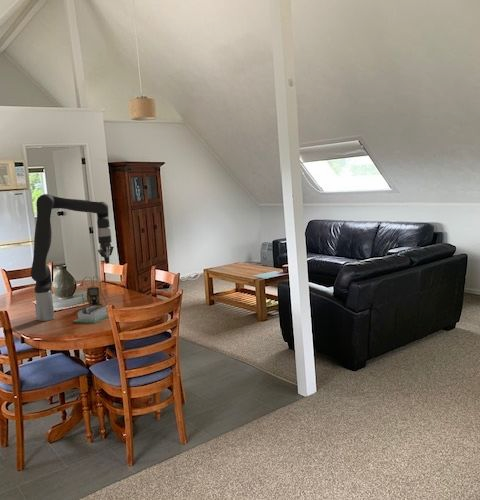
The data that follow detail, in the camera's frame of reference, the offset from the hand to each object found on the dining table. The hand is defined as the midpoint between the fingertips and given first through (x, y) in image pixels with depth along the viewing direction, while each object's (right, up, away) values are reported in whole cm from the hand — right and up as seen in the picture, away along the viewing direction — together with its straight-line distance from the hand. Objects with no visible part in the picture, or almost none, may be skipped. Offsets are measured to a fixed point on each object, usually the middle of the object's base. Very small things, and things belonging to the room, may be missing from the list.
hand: (107, 263), depth 301 cm
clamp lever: (-7, -28, -6) cm, 29 cm away
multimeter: (-13, -29, +19) cm, 37 cm away
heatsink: (-6, -33, -5) cm, 33 cm away
